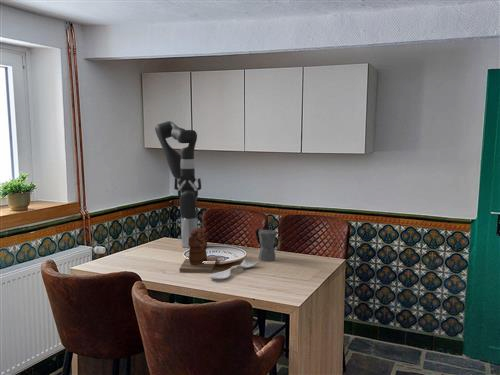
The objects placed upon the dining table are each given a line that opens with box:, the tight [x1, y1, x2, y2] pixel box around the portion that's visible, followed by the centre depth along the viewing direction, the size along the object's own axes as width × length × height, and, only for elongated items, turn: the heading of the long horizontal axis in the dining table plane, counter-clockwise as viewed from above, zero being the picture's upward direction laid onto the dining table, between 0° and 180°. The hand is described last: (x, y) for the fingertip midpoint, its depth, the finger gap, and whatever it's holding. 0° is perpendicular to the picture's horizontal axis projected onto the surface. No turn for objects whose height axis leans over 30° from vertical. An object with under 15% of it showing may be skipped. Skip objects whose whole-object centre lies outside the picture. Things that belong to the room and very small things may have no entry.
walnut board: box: [179, 255, 218, 274], centre depth 249 cm, size 22×16×2 cm
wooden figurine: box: [188, 227, 208, 265], centre depth 248 cm, size 12×6×18 cm, turn 158°
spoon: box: [208, 258, 260, 280], centre depth 238 cm, size 9×32×4 cm, turn 144°
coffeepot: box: [255, 226, 278, 262], centre depth 261 cm, size 15×9×18 cm, turn 44°
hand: (188, 197), depth 261 cm, fingers open, 8 cm apart
